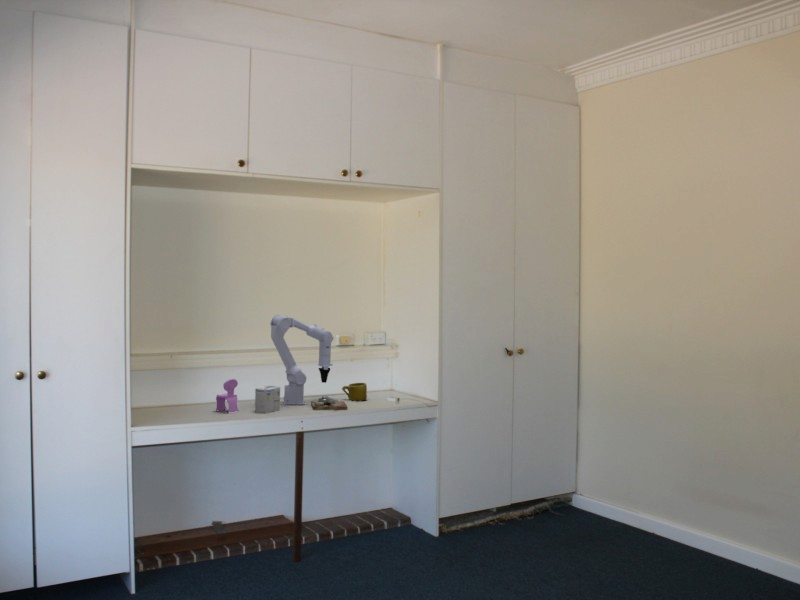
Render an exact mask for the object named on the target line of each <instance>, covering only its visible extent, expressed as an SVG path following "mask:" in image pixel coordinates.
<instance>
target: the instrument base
mask: <svg viewBox="0 0 800 600" xmlns="http://www.w3.org/2000/svg"><path fill="white" fill-rule="evenodd" d="M318 401H319V400H318ZM318 401H317V400H316V401H310V406H311V408H312V410H313V411H325V410H326V411H339V410H342V411H344V410H345V411H348V405H347V404H346V402H345V401H343V400H342V401H341V400H340V401H339V400H338V404H332V403H331V404H326V405H324V402H318Z"/></svg>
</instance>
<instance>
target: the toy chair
mask: <svg viewBox="0 0 800 600" xmlns="http://www.w3.org/2000/svg"><path fill="white" fill-rule="evenodd" d="M238 385H239V382H238V380H237V379H236V378H230V379H227V380H226V381H225V382H224V383H223V385H222V386H223V389H224V391H226V393H221V394H216V397H215V400H216V409H215V411H216V410H221V411H224V410H223V409H226V410H228V412H227V414H230V413H229V412H235V411H239V412H240V410H239V408H238V394H235V389H236V388H237V386H238ZM226 402H227V404H228V408H227V405H226ZM235 413H236V412H235Z"/></svg>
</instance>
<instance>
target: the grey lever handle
mask: <svg viewBox="0 0 800 600" xmlns="http://www.w3.org/2000/svg"><path fill="white" fill-rule="evenodd" d="M338 401H339V399H337V398H333V397H329V396H327V395H323V396H321V397H319V398H318V402H324V405H326V404H331V403H332V404H338Z"/></svg>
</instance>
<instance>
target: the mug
mask: <svg viewBox="0 0 800 600" xmlns="http://www.w3.org/2000/svg"><path fill="white" fill-rule="evenodd" d="M341 390H342V392H344V393H345V394H346V396H347V398H348V399H349V400H350V401H354V402H355V401H356V402H357V401H358V402H363V401H366V400H367V397H368V395H367V392H368V391H367V390H368V388H367V383H365V382H355V383H350V384H348V385H343V386H342V387H341ZM346 390H347V391H346Z"/></svg>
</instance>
